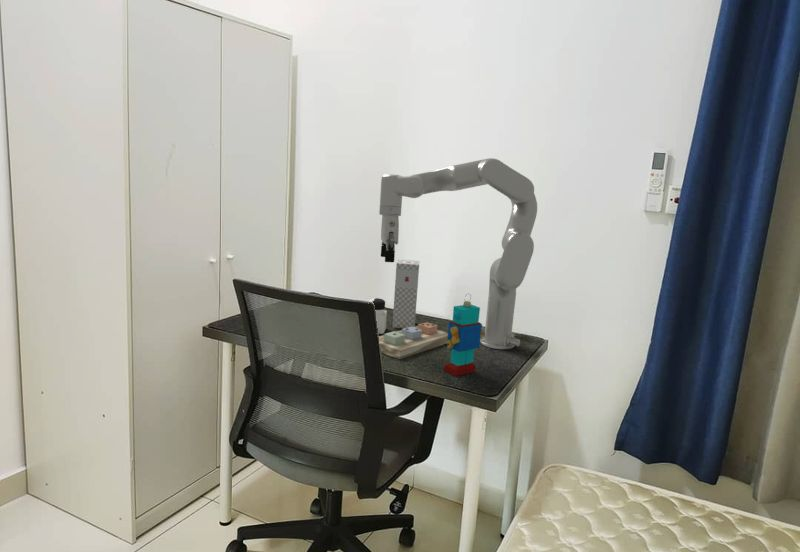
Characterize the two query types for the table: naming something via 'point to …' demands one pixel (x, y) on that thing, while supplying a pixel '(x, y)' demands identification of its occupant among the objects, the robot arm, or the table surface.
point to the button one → (394, 338)
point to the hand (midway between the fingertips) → (387, 259)
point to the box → (405, 293)
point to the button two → (412, 333)
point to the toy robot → (463, 338)
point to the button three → (428, 328)
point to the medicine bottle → (380, 314)
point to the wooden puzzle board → (413, 344)
